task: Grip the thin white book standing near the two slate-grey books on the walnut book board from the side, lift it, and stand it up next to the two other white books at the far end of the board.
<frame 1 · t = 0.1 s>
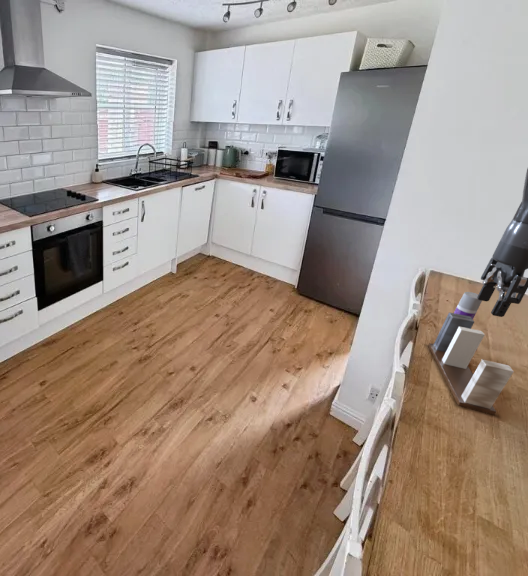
hand: (489, 307, 87), 21 cm above the table, tool pointing down, fingers open, 8 cm apart
container: (451, 338, 115), on the table
white book: (453, 364, 100), point 1 cm above the table, touching book rack
book rack: (456, 376, 97), on the table
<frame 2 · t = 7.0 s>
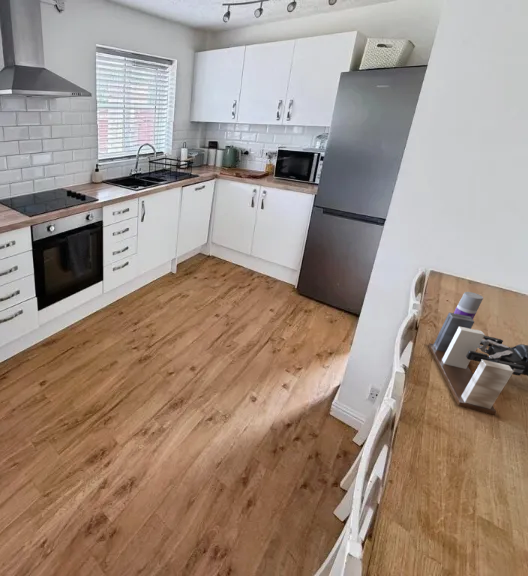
hand: (462, 346, 98), 7 cm above the table, tool horizontal, fingers open, 8 cm apart
nothing on the table moved.
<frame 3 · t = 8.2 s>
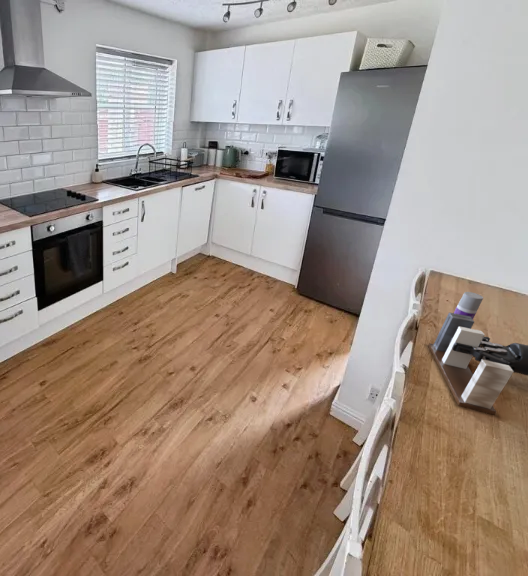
hand: (452, 343, 98), 7 cm above the table, tool horizontal, fingers closed on white book, 2 cm apart
white book: (453, 364, 100), point 1 cm above the table, touching book rack, gripper
everything else where it was.
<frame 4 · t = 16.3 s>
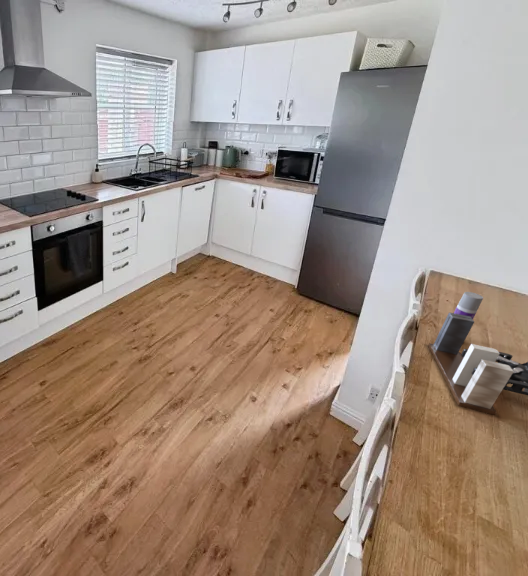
hand: (467, 361, 91), 7 cm above the table, tool horizontal, fingers open, 8 cm apart
white book: (465, 384, 93), point 1 cm above the table, touching book rack
everything else where it was.
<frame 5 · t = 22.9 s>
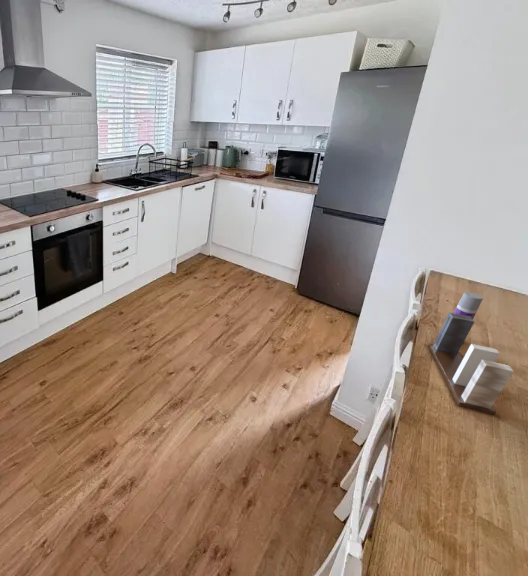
nothing on the table moved.
at the end: white book 0.3 cm from the target spot on the book rack, point 1.0 cm above the book rack's base; white book tilted 0°; the gripper is holding nothing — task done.
